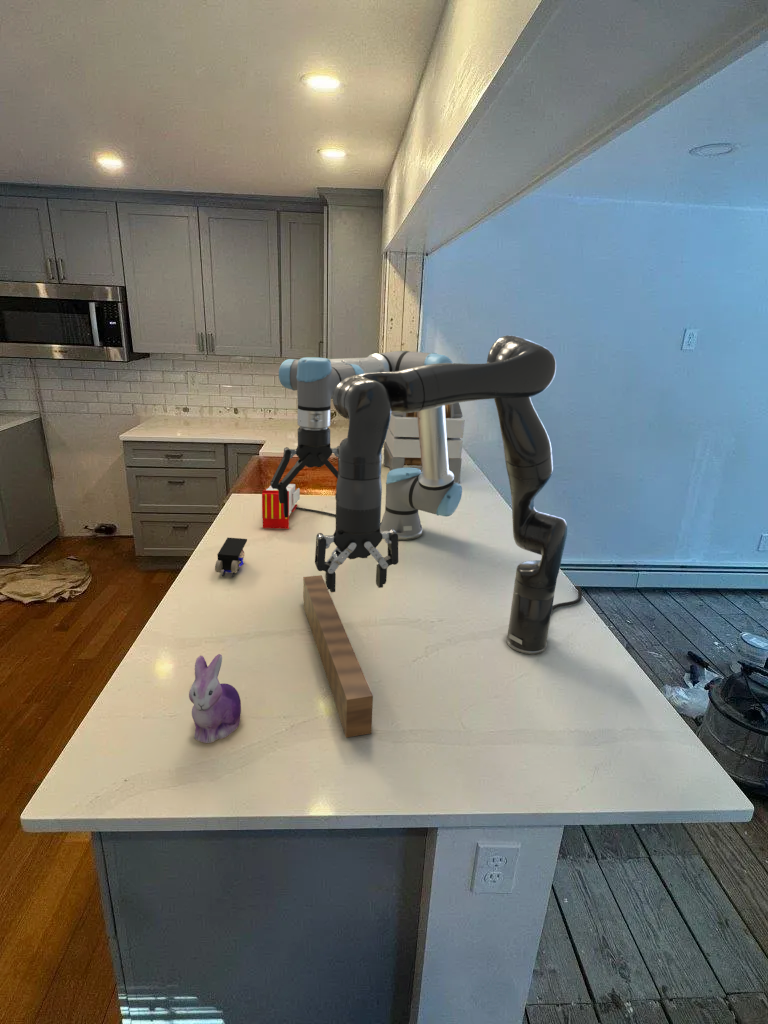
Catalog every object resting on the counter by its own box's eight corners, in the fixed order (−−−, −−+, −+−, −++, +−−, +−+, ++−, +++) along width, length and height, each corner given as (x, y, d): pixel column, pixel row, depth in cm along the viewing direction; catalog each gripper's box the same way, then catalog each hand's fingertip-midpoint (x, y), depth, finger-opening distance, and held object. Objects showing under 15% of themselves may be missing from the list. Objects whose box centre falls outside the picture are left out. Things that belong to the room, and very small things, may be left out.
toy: (301, 479, 224) (291, 492, 194) (301, 512, 226) (291, 530, 197) (270, 478, 223) (256, 491, 194) (271, 511, 226) (256, 529, 197)
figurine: (196, 753, 99) (190, 681, 94) (186, 717, 107) (180, 649, 102) (250, 737, 103) (246, 667, 98) (236, 703, 112) (232, 637, 107)
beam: (303, 605, 150) (303, 576, 147) (321, 603, 151) (321, 575, 148) (345, 737, 104) (346, 699, 102) (371, 733, 106) (373, 695, 103)
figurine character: (238, 584, 162) (249, 557, 175) (236, 562, 158) (247, 536, 172) (215, 584, 161) (227, 556, 175) (212, 561, 158) (225, 535, 171)
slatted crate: (382, 463, 289) (386, 382, 275) (445, 464, 293) (451, 384, 279) (390, 482, 257) (394, 392, 243) (460, 483, 261) (468, 394, 247)
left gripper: (260, 431, 124) (263, 522, 131) (370, 429, 131) (367, 515, 138) (257, 424, 130) (260, 511, 137) (362, 423, 137) (359, 505, 145)
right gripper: (320, 510, 88) (319, 602, 94) (406, 505, 93) (401, 594, 98) (312, 495, 95) (312, 582, 101) (392, 491, 99) (388, 575, 105)
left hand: (313, 513), depth 138 cm, fingers open, 13 cm apart
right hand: (356, 588), depth 99 cm, fingers open, 8 cm apart
